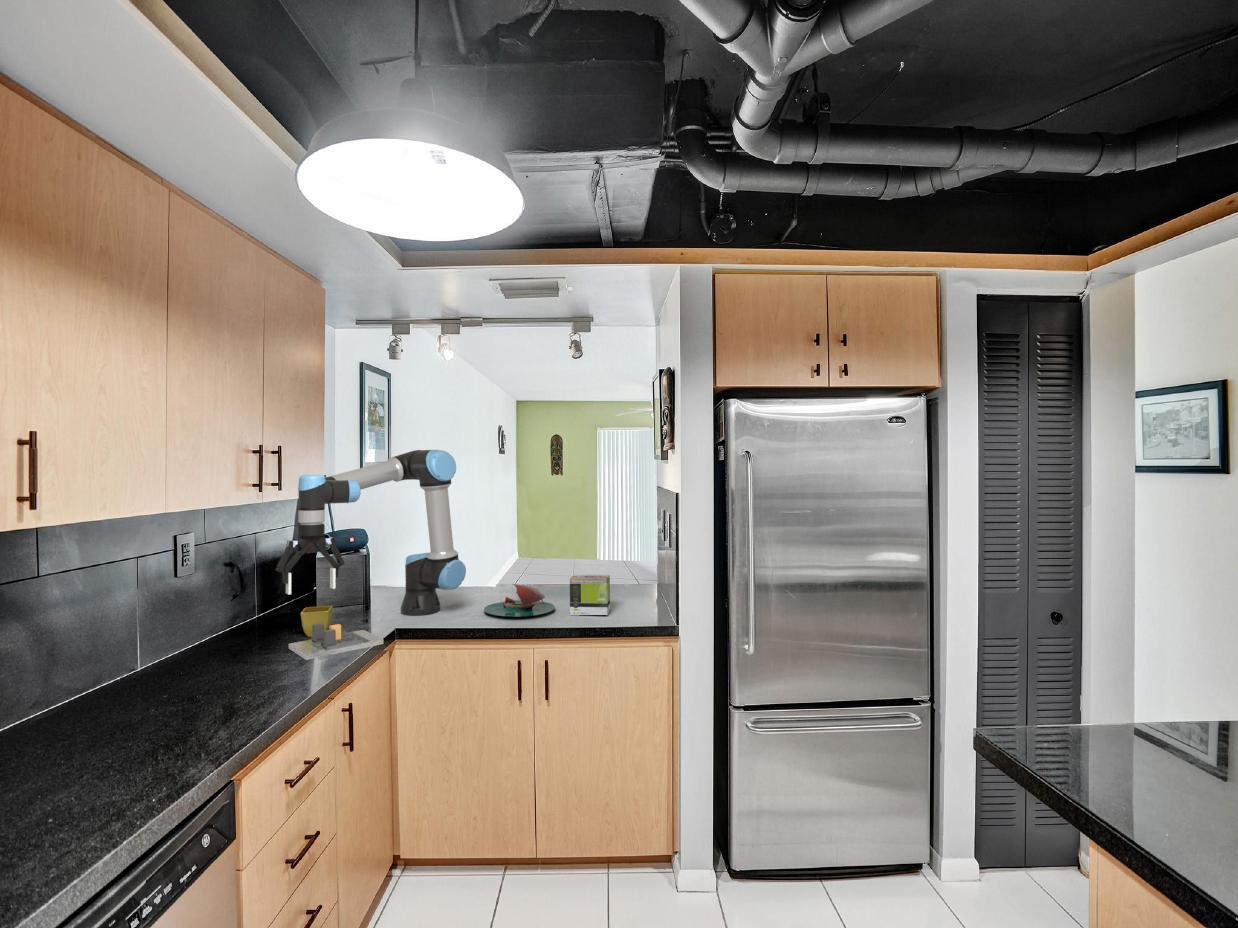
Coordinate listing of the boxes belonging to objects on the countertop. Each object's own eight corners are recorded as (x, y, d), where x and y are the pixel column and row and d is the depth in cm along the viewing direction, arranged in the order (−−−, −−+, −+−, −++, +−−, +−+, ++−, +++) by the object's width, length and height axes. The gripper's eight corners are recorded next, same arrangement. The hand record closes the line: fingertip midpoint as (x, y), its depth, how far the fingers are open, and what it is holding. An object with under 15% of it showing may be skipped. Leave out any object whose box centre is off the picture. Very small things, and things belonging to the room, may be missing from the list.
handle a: (321, 638, 207) (321, 623, 207) (324, 639, 205) (324, 624, 205) (312, 639, 204) (312, 624, 204) (314, 641, 203) (314, 625, 203)
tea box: (610, 610, 254) (610, 574, 254) (607, 617, 244) (607, 578, 244) (573, 609, 255) (573, 573, 255) (569, 615, 245) (569, 578, 245)
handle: (333, 644, 199) (333, 628, 199) (335, 646, 198) (335, 630, 198) (323, 646, 197) (323, 630, 197) (325, 647, 196) (325, 632, 196)
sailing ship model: (538, 623, 234) (538, 593, 234) (470, 617, 241) (470, 588, 241) (564, 606, 261) (565, 579, 261) (503, 601, 268) (503, 575, 268)
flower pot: (300, 639, 212) (300, 612, 211) (305, 632, 220) (305, 606, 220) (328, 637, 214) (328, 611, 214) (332, 630, 222) (332, 605, 222)
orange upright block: (338, 639, 205) (338, 623, 205) (341, 640, 204) (341, 625, 204) (329, 641, 203) (329, 625, 203) (331, 642, 202) (331, 626, 202)
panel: (363, 633, 218) (363, 626, 218) (383, 643, 207) (383, 636, 207) (288, 648, 201) (288, 640, 201) (305, 659, 190) (305, 651, 190)
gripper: (346, 520, 210) (346, 584, 210) (264, 524, 193) (264, 594, 193) (355, 521, 205) (355, 587, 205) (272, 526, 188) (271, 598, 188)
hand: (311, 591), depth 199 cm, fingers open, 12 cm apart
